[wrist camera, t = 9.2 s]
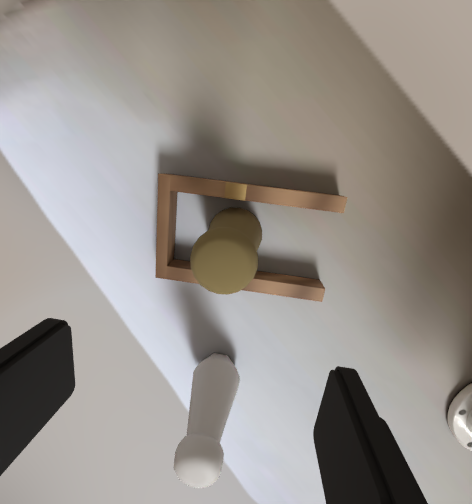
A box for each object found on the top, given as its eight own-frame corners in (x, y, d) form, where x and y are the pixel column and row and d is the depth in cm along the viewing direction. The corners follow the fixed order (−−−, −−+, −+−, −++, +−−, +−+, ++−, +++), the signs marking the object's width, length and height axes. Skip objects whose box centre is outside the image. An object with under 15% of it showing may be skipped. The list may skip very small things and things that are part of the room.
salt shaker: (200, 343, 33) (164, 443, 21) (243, 351, 33) (234, 457, 20) (195, 379, 35) (159, 492, 22) (237, 387, 34) (224, 506, 22)
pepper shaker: (265, 256, 29) (269, 302, 18) (213, 263, 30) (188, 310, 19) (258, 203, 27) (258, 220, 17) (203, 211, 28) (170, 232, 18)
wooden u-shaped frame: (339, 195, 26) (348, 197, 24) (316, 291, 30) (322, 303, 27) (167, 173, 27) (157, 173, 25) (163, 269, 30) (154, 278, 28)
